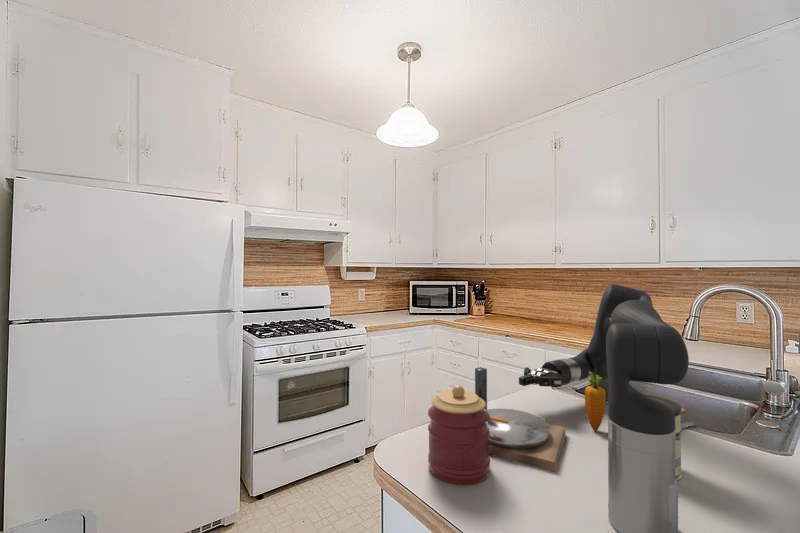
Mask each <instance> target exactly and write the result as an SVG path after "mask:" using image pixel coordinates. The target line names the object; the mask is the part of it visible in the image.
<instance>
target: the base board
mask: <svg viewBox="0 0 800 533" xmlns="http://www.w3.org/2000/svg"><path fill="white" fill-rule="evenodd" d="M547 424H548V426H549V440H548V441H547V442H546V443H545V444H544V445H542V446H539V447H535V448H529V449H513V448H506V447H501V446H497V445H494V444H491V443H489V456H492V457H495V458H496V457H497V458H500V459H504V460H508V461H510V462H511V461H512V462H515V463H520V464H523V465H527V466H530V467H535V468H538V469H543V470H546V471H550V472H555V471H556V468H557V464H558V460H559V458H560V454H561V451H562V448H563V443H564V440H565V436H566V427H564V426H560V425H554V424H550V423H547Z"/></svg>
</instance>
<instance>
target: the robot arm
mask: <svg viewBox="0 0 800 533" xmlns="http://www.w3.org/2000/svg"><path fill="white" fill-rule="evenodd" d="M595 320H596V321H595V325H594V330H593V334H592V337H591V340H590V341H589V344H588V346H587V348H585V349H583V350H582V351H580V352H579V354H577V355H576V356H573V357H568V358H560V359H554V360H551V361H549V360H548V361H546V362H544V363H543V364H542V366H541V367H538V368H534V369H533V370H531V368H530V367H524V369H523V370H524V371H523V375H522V376H519V377H518V385H520V386H523V387H526V386H529V385H533V386H537V385H538V386H539V387H548V388H549V387H551V388H562V387H564V386H567V385H571V384H573V383H575V382H579V381H583V380H585V379H587V378H588V379H589V378H590V375H589V372H592V373H593V375H594V378H595V381H596V375H598V376H599V378H600V377H601V378H602V380H601V382H604V381H608V382H607V383H608V385H607V386H608V389H607V390H608V394H607V395H608V399H607V400H608V402H607V403H608V404H607V406H608V407H607V427H608V430H607V431H608V432H607V437H608V438H607V443H608V445H607V454H608V456H607V458H608V460H607V463H608V465H607V467H608V469H607V473H608V478H607V479H608V481H607V484H608V488H607V490H608V491H607V492H608V493H607V494H608V495H607V496H608V497H607V498H608V500H607V501H608V503H607V506H608V508H607V509H608V510H607V511H608V513H607V514H608V521H609V523H610V525H611V526H612V527H613V529H614V530H616V531H617V532H618V533H679V485H678V482H677V481H676V464H675V415H674V412H673V411H672V410H671V409H670V408H669V407H668V406H666V405H665V404H663V403H661V402H659V401H657V400H654V399H652V398H650V397H647V396H645V395H646V394H645V395H643V392H640V391H638V390H637V389H636V388H634V387H633V386H632V385H631V384H630V383H631V382H640V383H648V384H658V385H674V384H675V385H676V384H678V383H680V382H682V381H683V379H684V378H685V377H686V375H687V374H688V371H689V366H690V365H689V364H690V361H689V360H690V357H689V353H688V349H687V345H686V342H685V341H684V339H683V337H682V335H681V334H680V332H679V331H678V330H677V329H676V328H674V327H673V326H671V325H670V324H669V323H667V322H665V321H664V320H663V318H662V317H661V316H660V314H659V312H658V311H657V310H656V309H655V308H654V306H653V301H652V297H651V296H650V294H649V293H647V292H645V291H643V290H640V289H636V288H632V287H629V286H624V285H620V284H616V283H615V284H614V283H613V284H612V283H611V284H609V285H608V286H607V287H606V288H605V289H604V291H603V294H602V297H601V299H600V303H599V307H598V310H597V315H596V319H595Z"/></svg>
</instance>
